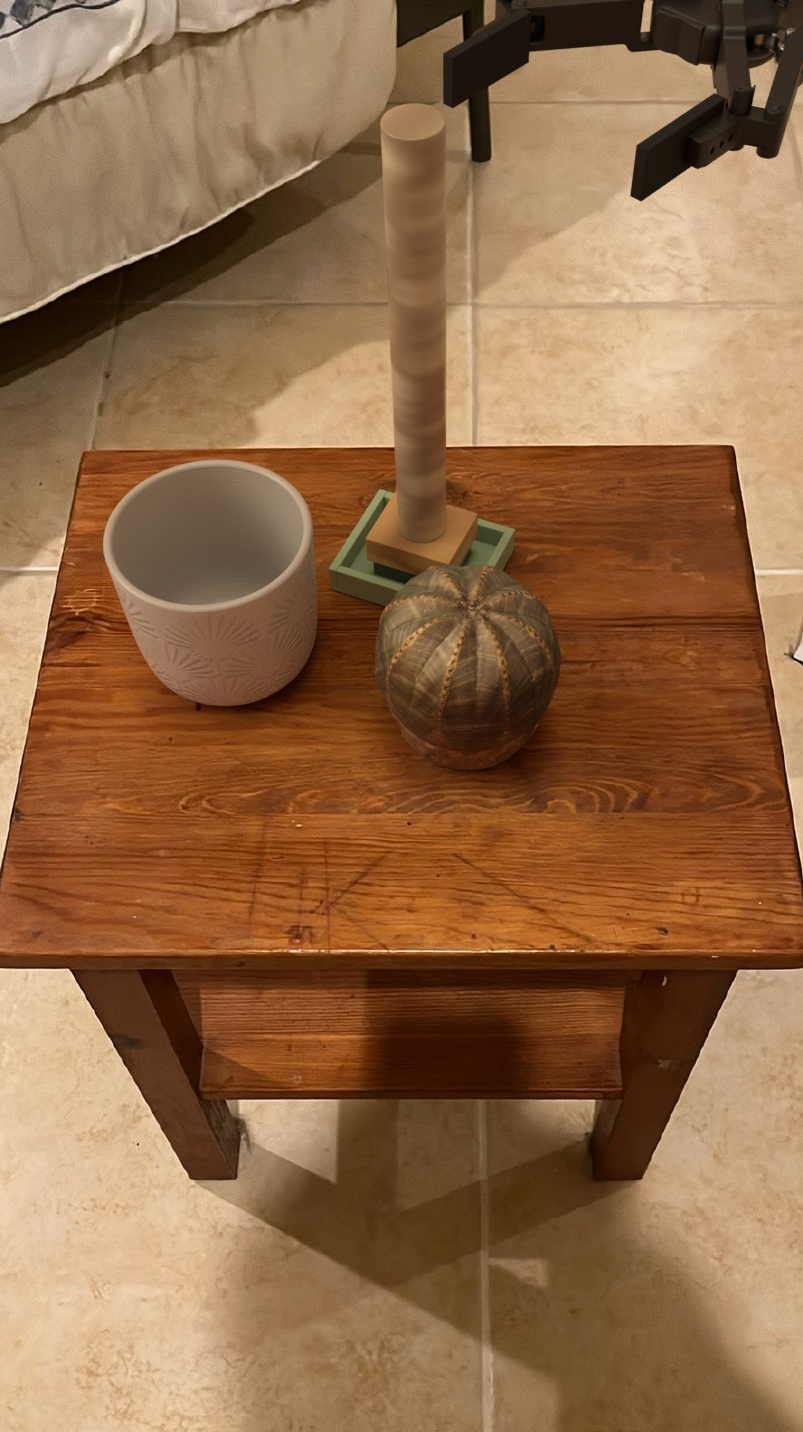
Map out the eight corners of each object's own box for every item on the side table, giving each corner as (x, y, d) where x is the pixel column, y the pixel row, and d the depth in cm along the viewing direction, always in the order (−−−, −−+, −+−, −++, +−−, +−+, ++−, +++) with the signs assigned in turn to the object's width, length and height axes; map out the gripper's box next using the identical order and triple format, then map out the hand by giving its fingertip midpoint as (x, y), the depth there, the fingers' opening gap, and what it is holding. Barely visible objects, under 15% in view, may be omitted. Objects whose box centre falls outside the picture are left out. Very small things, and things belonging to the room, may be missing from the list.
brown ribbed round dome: (360, 784, 79) (347, 657, 69) (402, 650, 85) (396, 514, 74) (533, 816, 78) (547, 691, 67) (565, 677, 83) (582, 542, 73)
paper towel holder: (477, 551, 88) (490, 106, 63) (448, 601, 86) (449, 161, 60) (398, 527, 90) (378, 82, 64) (367, 576, 88) (335, 135, 62)
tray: (514, 550, 89) (515, 528, 87) (468, 633, 85) (468, 613, 84) (380, 509, 91) (379, 488, 90) (330, 589, 88) (328, 568, 86)
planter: (336, 586, 88) (323, 461, 78) (315, 732, 81) (298, 615, 72) (158, 579, 89) (124, 454, 79) (123, 722, 82) (82, 605, 73)
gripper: (936, 116, 75) (714, 284, 68) (605, -21, 85) (379, 113, 77) (981, -26, 69) (742, 142, 61) (618, -158, 78) (373, -26, 71)
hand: (539, 126), depth 69 cm, fingers open, 13 cm apart
